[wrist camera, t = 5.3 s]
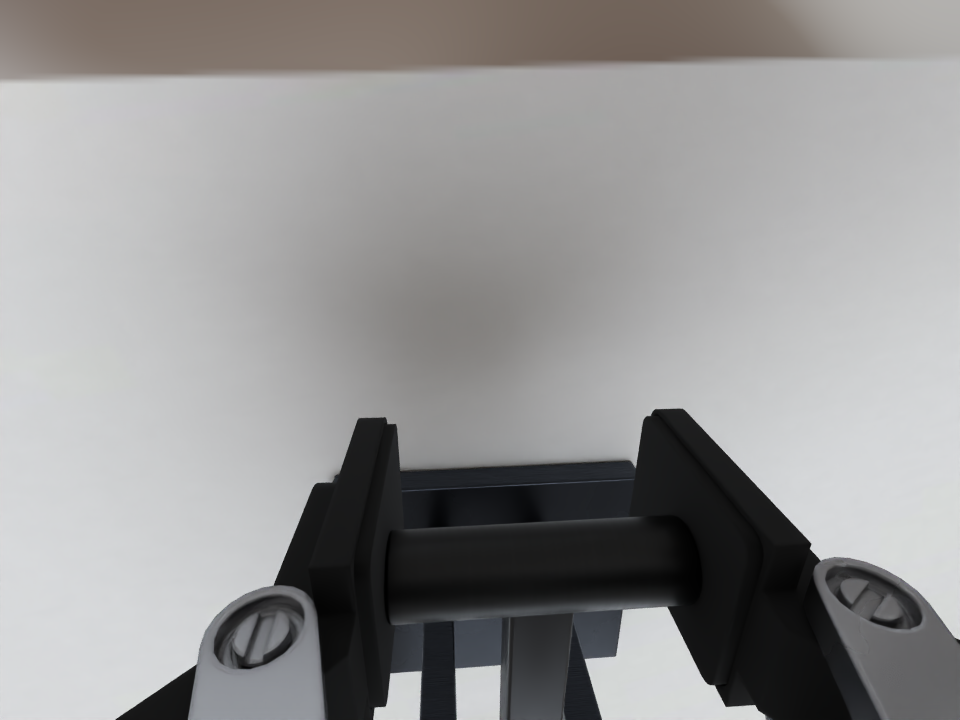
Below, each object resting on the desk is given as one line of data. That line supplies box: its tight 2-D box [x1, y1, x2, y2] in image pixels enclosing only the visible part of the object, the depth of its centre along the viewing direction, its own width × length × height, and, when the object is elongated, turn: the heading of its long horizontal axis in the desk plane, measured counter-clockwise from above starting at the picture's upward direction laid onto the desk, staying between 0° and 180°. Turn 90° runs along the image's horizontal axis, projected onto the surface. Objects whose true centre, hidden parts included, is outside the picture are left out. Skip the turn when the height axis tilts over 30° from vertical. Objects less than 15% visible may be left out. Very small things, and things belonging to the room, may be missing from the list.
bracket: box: [333, 461, 636, 720], centre depth 16 cm, size 10×12×12 cm
